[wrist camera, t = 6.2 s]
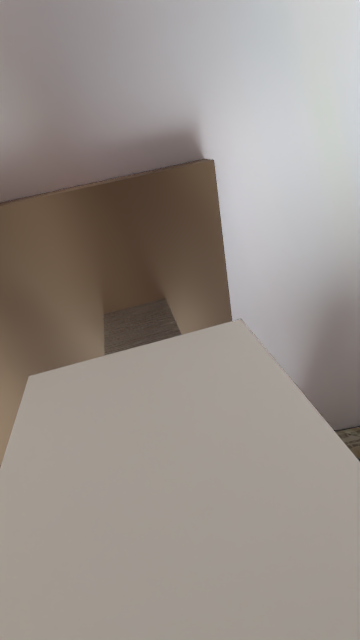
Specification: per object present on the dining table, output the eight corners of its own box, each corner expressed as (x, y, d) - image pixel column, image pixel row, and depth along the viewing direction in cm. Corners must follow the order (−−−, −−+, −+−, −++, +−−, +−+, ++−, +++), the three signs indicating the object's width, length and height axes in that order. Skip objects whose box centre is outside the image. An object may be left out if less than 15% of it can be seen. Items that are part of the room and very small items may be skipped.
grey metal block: (120, 364, 15) (129, 456, 10) (103, 313, 13) (105, 394, 9) (176, 348, 15) (208, 432, 10) (165, 297, 13) (196, 368, 9)
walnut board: (-26, 566, 21) (-33, 589, 20) (-322, 272, 11) (-367, 285, 10) (244, 479, 22) (251, 495, 21) (204, 159, 12) (213, 159, 11)
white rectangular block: (96, 505, 10) (92, 933, 5) (28, 376, 8) (-161, 986, 2) (254, 455, 11) (419, 784, 5) (241, 318, 8) (542, 682, 3)
